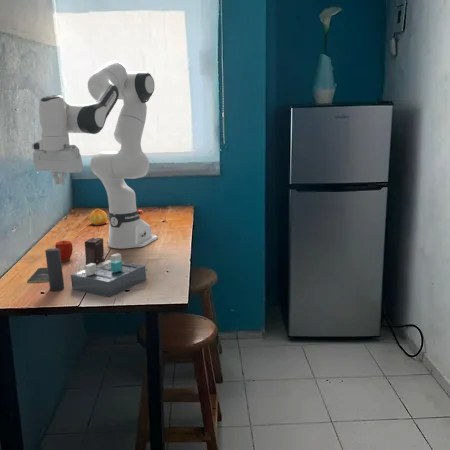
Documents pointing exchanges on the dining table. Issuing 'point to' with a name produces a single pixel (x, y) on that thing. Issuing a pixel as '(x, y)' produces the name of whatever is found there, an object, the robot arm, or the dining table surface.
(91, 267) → the slider
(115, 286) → the panel
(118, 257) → the slider
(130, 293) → the dining table surface
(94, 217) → the fruit
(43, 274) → the smartphone
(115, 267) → the slider mid
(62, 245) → the apple
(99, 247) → the box
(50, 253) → the post
